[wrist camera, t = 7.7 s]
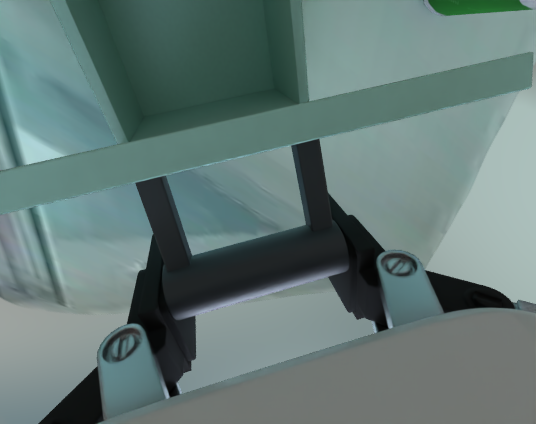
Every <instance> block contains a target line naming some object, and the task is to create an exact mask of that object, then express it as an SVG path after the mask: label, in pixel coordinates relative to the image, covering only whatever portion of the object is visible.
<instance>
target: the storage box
mask: <svg viewBox="0 0 536 424" xmlns="http://www.w3.org/2000/svg"><path fill="white" fill-rule="evenodd" d="M50 2H51V4H52V6H53V8H54V10H55V13H56V15H57V17H58V19H59V21H60V23H61V25H62V27H63V30H64V32H65V34H66V36H67V38H68V40H69V42H70V44H71V47H72V49H73V51H74V53H75V55H76V57H77V59H78V62H79V64H80V66H81V68H82V70H83V72H84V74H85V76H86V79H87V81H88V83H89V85H90V87H91V89H92V91H93V94H94V96H95V98H96V100H97V102H98V104H99V106H100V108H101V111H102V113H103V115H104V117H105V119H106V121H107V123H108V126H109V128H110V130H111V132H112V134H113V136H114V138H115V140H116V143H117V145H118V144H122V143H127V142H131V141H136V140H140V139H145V138H149V137H154V136H158V135H162V134H167V133H171V132H176V131H180V130H185V129H189V128H194V127H198V126H203V125H207V124H211V123H216V122H220V121H225V120H229V119H234V118H238V117H243V116H247V115H252V114H256V113H261V112H265V111H269V110H274V109H278V108H283V107H287V106H292V105H296V104H301V103H305V102H309V94H308V81H307V67H306V54H305V41H304V27H303V14H302V1H301V0H50Z"/></svg>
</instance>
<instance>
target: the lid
mask: <svg viewBox="0 0 536 424" xmlns="http://www.w3.org/2000/svg"><path fill="white" fill-rule="evenodd" d="M532 70H533V52H528V53H524V54H519V55H515V56H510V57H506V58H501V59H497V60H492V61H488V62H484V63H479V64H475V65H470V66H466V67H461V68H457V69H452V70H448V71H443V72H439V73H434V74H430V75H426V76H421V77H417V78H412V79H408V80H403V81H399V82H394V83H390V84H385V85H381V86H377V87H372V88H368V89H363V90H359V91H354V92H350V93H345V94H341V95H336V96H332V97H327V98H323V99H319V100H314V101H310V102H305V103H301V104H296V105H292V106H287V107H283V108H278V109H274V110H269V111H265V112H261V113H256V114H252V115H247V116H243V117H238V118H234V119H229V120H225V121H220V122H216V123H211V124H207V125H203V126H198V127H194V128H189V129H185V130H180V131H176V132H171V133H167V134H162V135H158V136H154V137H149V138H145V139H140V140H136V141H131V142H127V143H122V144H118V145H113V146H109V147H104V148H100V149H96V150H91V151H87V152H82V153H78V154H73V155H69V156H64V157H60V158H55V159H51V160H46V161H42V162H38V163H33V164H29V165H24V166H20V167H15V168H11V169H6V170H2V171H0V215H2V214H7V213H11V212H15V211H19V210H23V209H27V208H32V207H36V206H40V205H44V204H48V203H53V202H57V201H61V200H65V199H69V198H74V197H78V196H82V195H86V194H90V193H94V192H99V191H103V190H107V189H111V188H115V187H120V186H124V185H128V184H132V183H136V186H137V189H138V192H139V195H140V197H141V200H142V203H143V206H144V208H145V211H146V214H147V217H148V219H149V222H150V225H151V228H152V230H153V233H154V236H155V239H156V242H157V244H158V247H159V250H160V253H161V255H162V258H163V261H164V264H165V265H164V267H163V272H162V283H163V290H164V296H165V300H166V303H167V306H168V308H169V311H170V313H171V315H172V316H173V318H174V319H176V320H182V319H185V318H189V317H192V316H195V315H199V314H202V313H206V312H209V311H213V310H215V309H219V308H223V307H226V306H230V305H233V304H237V303H240V302H243V301H247V300H250V299H254V298H257V297H261V296H264V295H267V294H271V293H274V292H278V291H281V290H285V289H288V288H292V287H295V286H298V285H302V284H305V283H309V282H312V281H316V280H319V279H322V278H326V277H329V276H333V275H336V274H340V273H343V272H346V271H347V270H348V269H349V254H348V249H347V245H346V242H345V239H344V236H343V234H342V232H341V230H340V228H339V226H338V225H337V224H336V222H335V221H334V220H332V216H331V210H330V203H329V197H328V191H327V185H326V178H325V172H324V166H323V159H322V153H321V147H320V141H319V139H320V138H325V137H329V136H333V135H337V134H341V133H346V132H350V131H354V130H358V129H362V128H366V127H371V126H375V125H379V124H383V123H387V122H392V121H396V120H400V119H404V118H408V117H412V116H417V115H421V114H425V113H429V112H433V111H438V110H442V109H446V108H450V107H454V106H459V105H463V104H467V103H471V102H475V101H479V100H484V99H488V98H492V97H496V96H500V95H505V94H509V93H513V92H517V91H521V90H525V89H529V88H531V86H532ZM287 146H291V147H292V152H293V158H294V163H295V168H296V173H297V179H298V184H299V189H300V195H301V200H302V205H303V210H304V216H305V221H306V225H304V226H301V227H297V228H293V229H289V230H286V231H282V232H278V233H275V234H271V235H267V236H264V237H260V238H256V239H252V240H249V241H245V242H241V243H238V244H234V245H230V246H226V247H223V248H219V249H215V250H212V251H208V252H204V253H201V254H197V255H193V256H192V254H191V251H190V248H189V245H188V242H187V239H186V236H185V233H184V230H183V227H182V224H181V221H180V218H179V215H178V211H177V208H176V205H175V202H174V199H173V196H172V193H171V190H170V187H169V184H168V181H167V178H166V175H170V174H174V173H178V172H182V171H187V170H191V169H195V168H199V167H203V166H207V165H212V164H216V163H220V162H224V161H228V160H233V159H237V158H241V157H245V156H249V155H253V154H258V153H262V152H266V151H270V150H274V149H279V148H283V147H287Z"/></svg>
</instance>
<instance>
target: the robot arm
mask: <svg viewBox="0 0 536 424" xmlns="http://www.w3.org/2000/svg"><path fill="white" fill-rule="evenodd" d="M328 197H329V203H330V210H331V216H332V220H334V221H335V222H336V224H337V225H338V226H339V228H340V230H341V232H342V234H343V236H344V239H345V242H346V245H347V249H348V254H349V269H348V270H347V271H346V272H343V273H340V274H336V275H333V276H329V277H328V278H329V279H330V281H331V283H332V285H333V286H334V288H335V290H336V292H337V294H338V295H339V297H340V299H341V301H342V303H343V304H344V306H345V308H346V309H347V311H348V312H349V313H350V312H353V314H354V315H355V317H356V319H361V318H364V317H365V318H366V319H368V320H371V321H372V325H373V330H374V334H371V335H368V336H365V337H362V338H358V339H355V340H352V341H349V342H345V343H342V344H339V345H336V346H332V347H329V348H326V349H323V350H320V351H316V352H313V353H310V354H307V355H304V356H300V357H297V358H294V359H291V360H287V361H284V362H281V363H278V364H275V365H272V366H268V367H265V368H262V369H259V370H256V371H253V372H249V373H246V374H243V375H240V376H237V377H234V378H231V379H227V380H224V381H221V382H218V383H215V384H212V385H209V386H206V387H203V388H199V389H196V390H193V391H190V392H187V393H184V394H182V391H181V388H180V385H179V383H178V381H179V379H180V378H181V377H182V376H183V373H185V372H188V371H191V361H192V360H194V359H195V358H196V329H195V328H196V325H195V316H192V317H189V318H185V319H182V320H176V319H174V318H173V316H172V315H171V313H170V311H169V308H168V306H167V303H166V300H165V296H164V290H163V283H162V272H163V267H164V265H165V264H164V261H163V258H162V255H161V253H160V250H159V247H158V244H157V242H156V239H155V236H154V234H153V236H152V240H151V246H150V251H149V256H148V261H147V267H146V269H144V270H140V271H139V273H138V276H137V281H136V285H135V290H134V294H133V299H132V303H131V308H130V312H129V317H128V322H127V325H124V326H121V327H119V328H117V329H116V330H114V331H113V332H111V333H110V334H109V335H108V336H107V337H106V338H105V339H104V341H103V342H102V343H101V345H100V347H99V349H98V352H97V365H98V366H97V367H96V368H95V369H94V370H93V371H92V372H91V373H90V374H89V375H88V376H87V377H86V378H85V379H84V380H83V381H82V382H81V383H80V384H79V385H78V386H77V387H76V388H75V389H74V390H73V391H72V392H70V393H69V394H68V395H67V396H66V397H65V398H64V399H63V400H62V401H61V402H60V403H59V404H58V405H57V406H56V407H55V408H54V409H53V410H52V411H51V412H50V413H49V414H48V415H47V416H46V417H45V418H44V419H43V420H42V421H41V422H40V423H39V424H536V304H533V303H529V302H525V301H521V300H518V301H517V303H513V302H511V301H510V300H509V298H507V297H506V296H505V295H504V294H502V293H501V292H499V291H497V290H495V289H492V288H490V287H486V286H483V285H479V284H475V283H472V282H468V281H464V280H460V279H456V278H452V277H449V276H445V275H441V274H438V273H434V272H430V271H426V270H425V269H424V267H423V265H422V263H421V262H420V260H419V259H418V258H417V257H416V256H414V255H413V254H411V253H409V252H406V251H402V250H388V251H385V250H384V249H383V248H382V247H381V246H380V244H379V243H378V242H377V241H376V240H375V239H374V238H373V237H372V235H371V234H370V233H369V232H368V231H367V230H366V229H365V228H364V226H363V225H362V224H361V223H360V222H359V221H358V220H357V219H356V217H354V216H353V215H347V214H346V213H345V212H344V211H343V210H342V208H341V207H340V206H339V205H338V204H337V203H336V201H335V200H334V199H333V198H332V197H331V196H330V194H329V193H328Z"/></svg>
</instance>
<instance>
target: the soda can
mask: <svg viewBox="0 0 536 424" xmlns="http://www.w3.org/2000/svg"><path fill="white" fill-rule="evenodd" d="M423 1H424V3H425V5H426V6H427V7H428V8H429V10H430V11H431V12H433V13H435V14H438V15H440V16H448V15H462V14H476V13H490V12H504V11H518V10H532V9H536V0H423Z"/></svg>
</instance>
